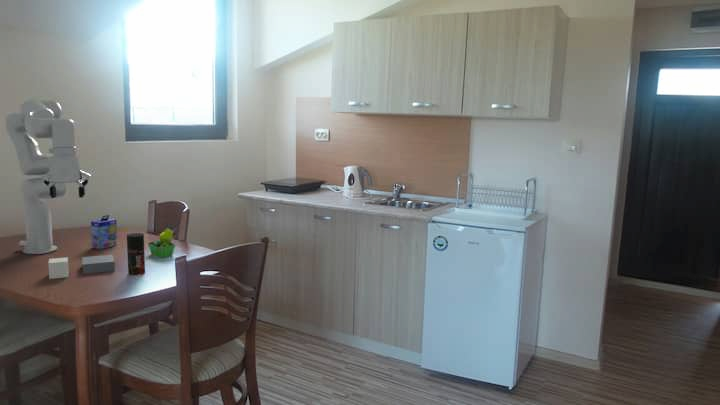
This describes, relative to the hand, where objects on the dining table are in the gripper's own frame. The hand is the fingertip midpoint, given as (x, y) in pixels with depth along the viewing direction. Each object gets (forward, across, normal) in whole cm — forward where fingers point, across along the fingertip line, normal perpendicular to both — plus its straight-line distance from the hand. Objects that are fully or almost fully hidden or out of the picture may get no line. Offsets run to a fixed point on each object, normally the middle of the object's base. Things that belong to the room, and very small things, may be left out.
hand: (67, 197), depth 200 cm
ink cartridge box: (+27, +2, +36) cm, 45 cm away
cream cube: (+28, -2, -8) cm, 30 cm away
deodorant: (+29, +25, -7) cm, 39 cm away
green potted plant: (+28, +30, +20) cm, 46 cm away
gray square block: (+29, +9, +1) cm, 30 cm away
